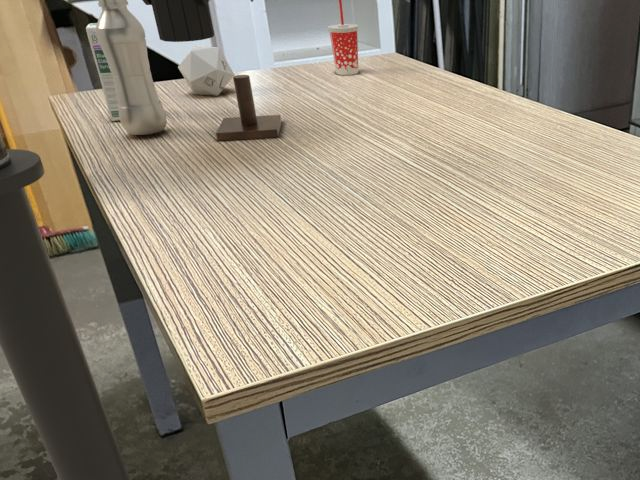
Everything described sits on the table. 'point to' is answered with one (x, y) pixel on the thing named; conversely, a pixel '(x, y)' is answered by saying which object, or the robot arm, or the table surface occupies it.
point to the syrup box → (103, 73)
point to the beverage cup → (344, 46)
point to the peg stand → (247, 117)
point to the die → (206, 70)
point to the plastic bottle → (129, 68)
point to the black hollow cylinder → (182, 20)
